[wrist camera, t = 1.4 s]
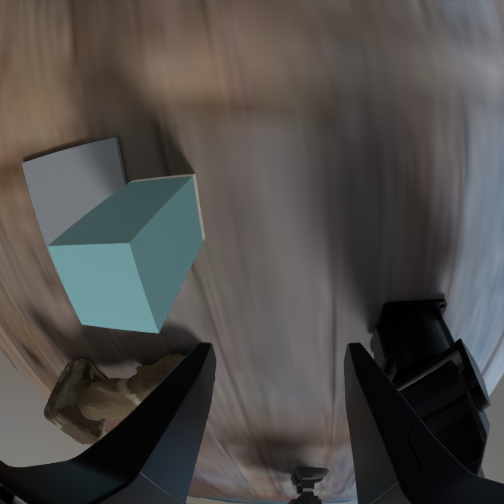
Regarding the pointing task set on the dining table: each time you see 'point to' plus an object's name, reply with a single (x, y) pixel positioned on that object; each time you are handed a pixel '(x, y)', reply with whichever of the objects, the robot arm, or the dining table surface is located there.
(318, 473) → the toy robot
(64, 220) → the felt mat
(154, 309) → the teal block
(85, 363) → the sculpture
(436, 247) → the dining table surface
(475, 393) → the robot arm
